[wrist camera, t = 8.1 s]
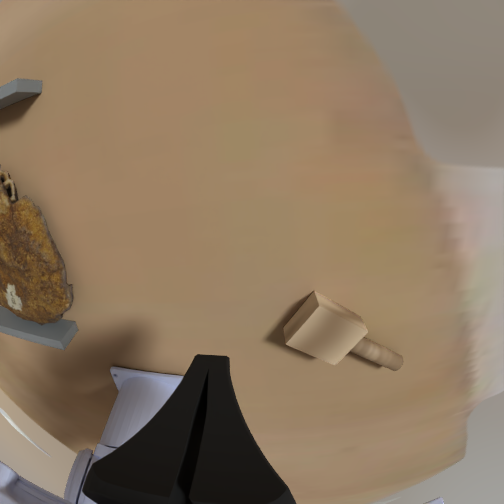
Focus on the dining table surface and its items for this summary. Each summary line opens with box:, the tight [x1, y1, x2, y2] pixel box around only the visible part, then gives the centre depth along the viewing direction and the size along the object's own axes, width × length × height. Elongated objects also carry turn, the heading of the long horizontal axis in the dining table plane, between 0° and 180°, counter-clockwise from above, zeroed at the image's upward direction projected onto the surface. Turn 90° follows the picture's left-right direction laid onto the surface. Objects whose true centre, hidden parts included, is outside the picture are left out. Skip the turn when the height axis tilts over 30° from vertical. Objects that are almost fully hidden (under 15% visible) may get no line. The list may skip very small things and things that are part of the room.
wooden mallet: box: [283, 291, 403, 371], centre depth 22 cm, size 12×4×2 cm, turn 58°
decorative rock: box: [0, 164, 73, 326], centre depth 18 cm, size 11×4×15 cm
